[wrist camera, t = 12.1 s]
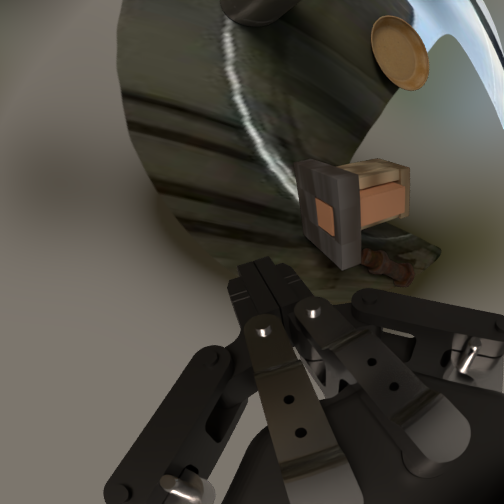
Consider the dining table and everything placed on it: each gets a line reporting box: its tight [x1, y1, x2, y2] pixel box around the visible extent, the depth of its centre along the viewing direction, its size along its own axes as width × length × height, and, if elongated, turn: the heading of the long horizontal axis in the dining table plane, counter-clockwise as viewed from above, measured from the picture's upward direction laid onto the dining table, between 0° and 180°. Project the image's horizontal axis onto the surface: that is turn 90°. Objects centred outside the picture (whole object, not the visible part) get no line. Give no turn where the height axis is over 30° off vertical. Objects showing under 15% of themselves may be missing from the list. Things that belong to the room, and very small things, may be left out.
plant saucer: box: [371, 16, 429, 91], centre depth 33 cm, size 15×15×3 cm
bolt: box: [361, 248, 415, 287], centre depth 51 cm, size 6×5×15 cm
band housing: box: [294, 158, 410, 271], centre depth 38 cm, size 16×12×12 cm
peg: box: [315, 182, 405, 236], centre depth 36 cm, size 13×4×4 cm, turn 103°
